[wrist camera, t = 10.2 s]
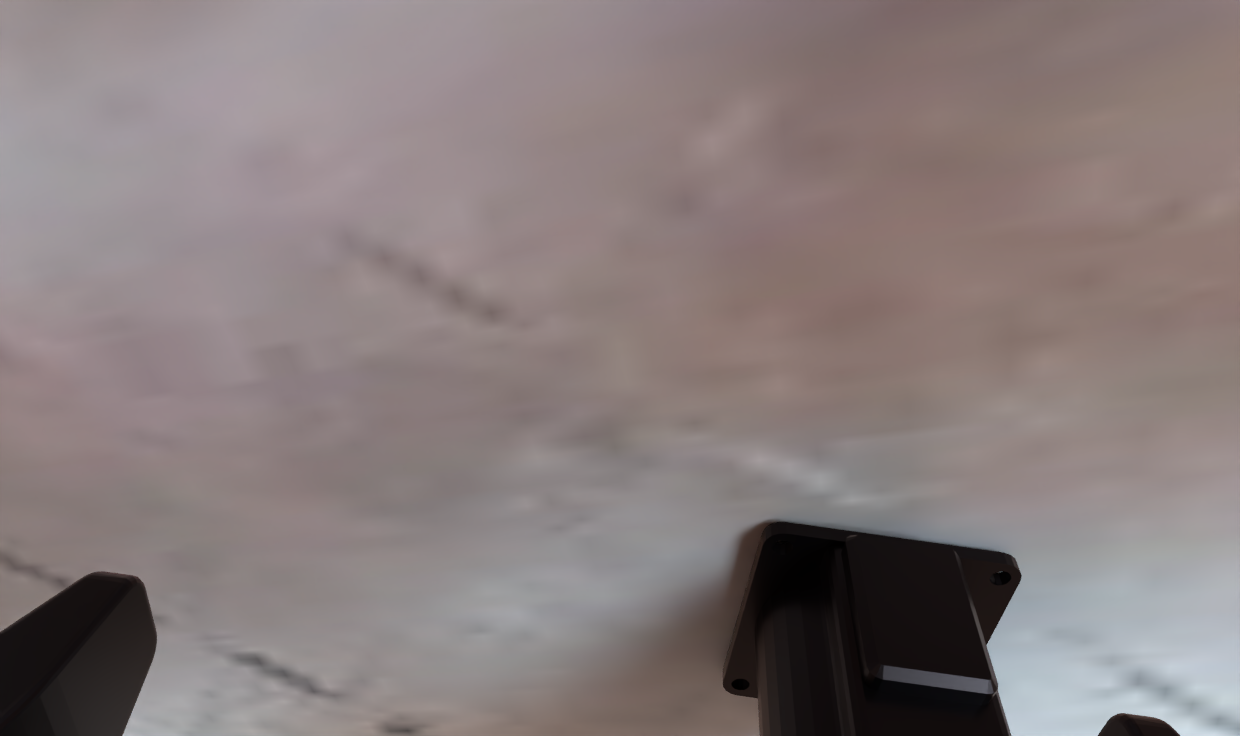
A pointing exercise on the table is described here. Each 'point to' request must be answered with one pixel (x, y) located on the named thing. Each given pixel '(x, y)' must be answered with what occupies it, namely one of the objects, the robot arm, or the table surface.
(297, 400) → the table surface
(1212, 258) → the table surface
